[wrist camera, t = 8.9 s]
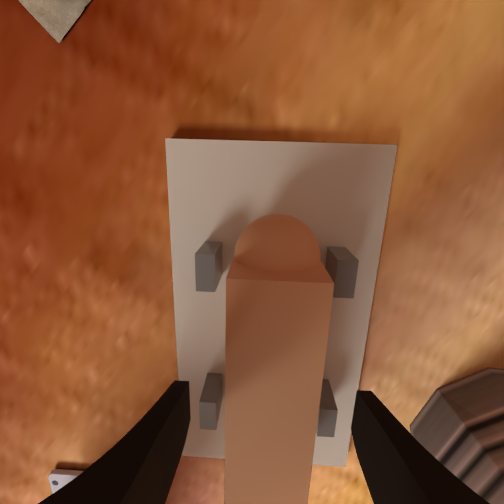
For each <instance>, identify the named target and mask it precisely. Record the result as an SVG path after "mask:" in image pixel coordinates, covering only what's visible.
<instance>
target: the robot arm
mask: <svg viewBox="0 0 504 504" xmlns="http://www.w3.org/2000/svg"><path fill="white" fill-rule="evenodd" d="M190 420H191V415H190V389H189V381H177V380H175V381H174V382H173V383H172V384H171V385H170V387H169V388H168V389H167V390H166V392H165V393H164V394H163V395H162V396H161V397H160V399H159V400H158V401H157V402H156V403H155V404H154V406H153V407H152V408H151V409H150V410H149V411H148V412H147V413H146V414H145V415H144V417H143V418H142V419H141V420H140V421H139V422H138V423H137V424H136V425H135V426H134V427H133V428H132V429H131V430H130V431H129V432H128V433H127V434H126V435H125V436H124V437H123V438H122V439H121V440H120V441H119V442H118V443H117V444H115V445H114V446H113V447H112V448H111V449H110V450H109V451H108V452H106V453H105V454H104V455H103V456H102V457H101V458H100V459H98V460H97V461H96V462H95V463H93V464H92V465H91V466H90V467H88V468H87V469H86V470H85V471H78V470H63V469H54V470H52V471H51V473H50V474H49V475H48V478H49V482H50V486H51V490H52V495H50V496H49V497H47V498H46V499H44V500H43V501H41V502H40V503H38V504H165V502H166V499H167V496H168V493H169V490H170V487H171V484H172V481H173V478H174V475H175V472H176V470H177V467H178V464H179V461H180V458H181V455H182V452H183V449H184V446H185V442H186V437H187V433H188V429H189V424H190ZM351 432H352V436H353V440H354V445H355V449H356V453H357V456H358V459H359V462H360V465H361V468H362V471H363V474H364V477H365V480H366V482H367V485H368V488H369V491H370V494H371V497H372V499H373V502H374V504H490V503H489V502H487V501H486V500H485V499H483V498H482V497H481V496H479V495H478V494H477V493H476V492H474V491H473V490H472V489H471V488H469V487H468V486H467V485H466V484H464V483H463V482H462V481H461V480H460V479H459V478H457V477H456V476H455V475H454V474H453V473H452V472H450V471H449V470H448V469H447V468H446V467H445V466H444V465H442V464H441V463H440V462H439V461H438V460H437V459H436V458H435V457H434V456H433V455H432V454H431V453H430V452H429V451H427V450H426V449H425V448H424V447H423V446H422V445H421V444H420V443H419V442H418V441H417V440H416V439H415V438H414V437H413V436H412V435H411V434H410V433H409V432H408V431H407V430H406V428H405V427H404V426H403V425H402V424H401V423H400V422H399V421H398V420H397V419H396V418H395V417H394V416H393V414H392V413H391V412H390V411H389V410H388V409H387V408H386V407H385V406H384V405H383V403H382V402H381V401H380V400H379V399H378V398H377V397H376V396H375V395H374V393H373V392H372V391H360V390H357V392H356V399H355V405H354V411H353V418H352V424H351Z"/></svg>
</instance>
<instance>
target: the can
mask: <svg viewBox="0 0 504 504" xmlns="http://www.w3.org/2000/svg"><path fill="white" fill-rule="evenodd" d="M410 431H411V435H412V436H413V437H414V438H415V439H416V440H417V441H418V442H419V443H420V444H421V445H422V446H423V447H424V448H425V449H426V450H427V451H429V452H430V453H431V454H432V455H433V456H434V457H435V458H436V459H437V460H438V461H439V462H440V463H441V464H442V465H444V466H445V467H446V468H447V469H448V470H449V471H450V472H452V473H453V474H454V475H455V476H456V477H457V478H459V479H460V480H461V481H462V482H463V483H464V484H466V485H467V486H468V487H469V488H471V489H472V490H473V491H474V492H476V493H477V494H478V495H479V496H481V497H482V498H483V499H485V500H486V501H487V502H489V503H490V504H504V369H497V368H486V369H483V370H481V371H478V372H476V373H474V374H471V375H469V376H466V377H464V378H462V379H459V380H457V381H455V382H452V383H450V384H447V385H445V386H443V387H440V388H438V389H436V391H435V392H434V393H433V395H432V396H431V397H430V399H429V400H428V401H427V403H426V404H425V406H424V407H423V408H422V410H421V411H420V412H419V414H418V415H417V416H416V418H415V419H414V420H413V422H412V423H411V424H410Z"/></svg>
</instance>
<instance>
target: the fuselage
mask: <svg viewBox="0 0 504 504" xmlns="http://www.w3.org/2000/svg"><path fill="white" fill-rule="evenodd" d="M333 291H334V282H333V280H332V279H331V277H330V275H329V274H328V272H327V270H326V269H325V267H324V265H323V264H322V262H321V260H320V248H319V244H318V242H317V239H316V237H315V235H314V234H313V232H312V231H311V229H310V228H309V227H308V226H307V225H306V224H304V223H303V222H302V221H300V220H298V219H297V218H295V217H292V216H289V215H285V214H270V215H266V216H262V217H260V218H258V219H256V220H254V221H253V222H251V223H250V224H249V225H248V226H247V227H246V228H245V229H244V230H243V232H242V233H241V234H240V236H239V238H238V240H237V243H236V246H235V252H234V257H233V260H232V263H231V266H230V268H229V271H228V274H227V277H226V330H225V479H224V504H308V496H309V488H310V479H311V471H312V463H313V455H314V447H315V438H316V430H317V422H318V414H319V406H320V397H321V389H322V381H323V373H324V365H325V357H326V348H327V340H328V332H329V324H330V316H331V307H332V299H333Z"/></svg>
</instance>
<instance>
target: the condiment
mask: <svg viewBox="0 0 504 504" xmlns="http://www.w3.org/2000/svg"><path fill="white" fill-rule="evenodd" d="M18 1H19V2H20V3H21V4H22V5H23V6H24V7H25V8H26V9H27V10H28V11H29V12H30V14H31V15H32V16H33V17H34V18H35V19H36V20H37V21H38V22H39V23H40V24H41V25H42V26H43V27H44V28H45V29H46V30H47V31H48V33H49V34H50V35H51V36H52V37H53V38H54V39H55V40H56V41H57V42H58V43H60V41H61V40H62V38H63V37H64V36H65V34H66V33H67V32H68V31H69V29H70V28H71V27H72V25H73V24H74V23H75V21H76V20H77V19H78V18H79V16H80V15H81V14H82V12H83V10H84V8H85V6H86V5H87V4H88V3H89V2H90V1H91V0H18Z"/></svg>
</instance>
